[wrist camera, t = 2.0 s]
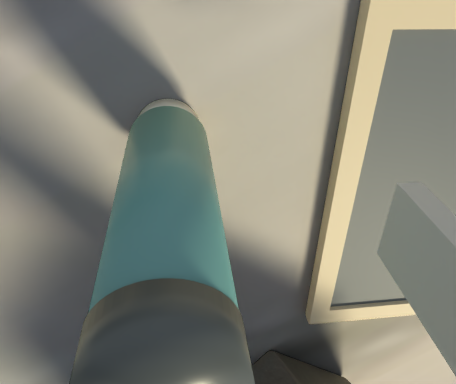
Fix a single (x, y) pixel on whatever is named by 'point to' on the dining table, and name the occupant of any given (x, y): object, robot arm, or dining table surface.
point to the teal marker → (164, 267)
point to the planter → (291, 371)
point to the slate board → (385, 151)
